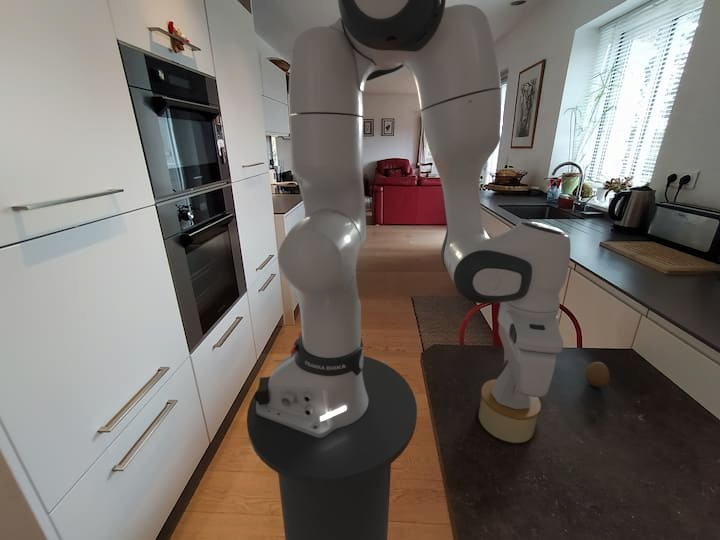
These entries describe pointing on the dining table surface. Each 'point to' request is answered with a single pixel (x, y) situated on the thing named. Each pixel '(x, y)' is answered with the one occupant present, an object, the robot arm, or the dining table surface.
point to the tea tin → (507, 417)
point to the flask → (508, 391)
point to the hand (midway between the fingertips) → (513, 382)
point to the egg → (597, 374)
